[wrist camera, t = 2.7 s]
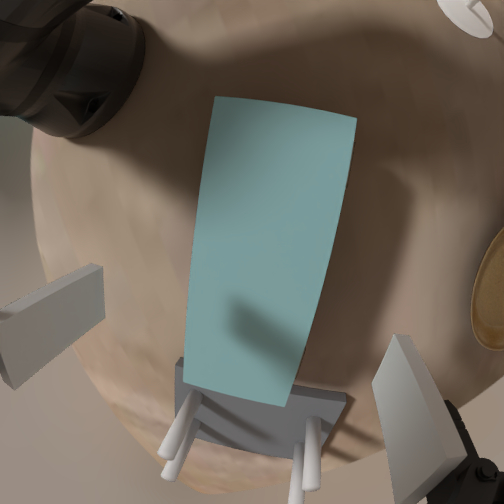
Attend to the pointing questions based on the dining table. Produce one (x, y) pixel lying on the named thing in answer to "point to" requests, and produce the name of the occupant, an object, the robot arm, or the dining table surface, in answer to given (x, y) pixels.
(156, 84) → the dining table surface
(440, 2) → the wineglass
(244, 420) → the peg stand
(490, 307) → the plant saucer
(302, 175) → the shelf board
